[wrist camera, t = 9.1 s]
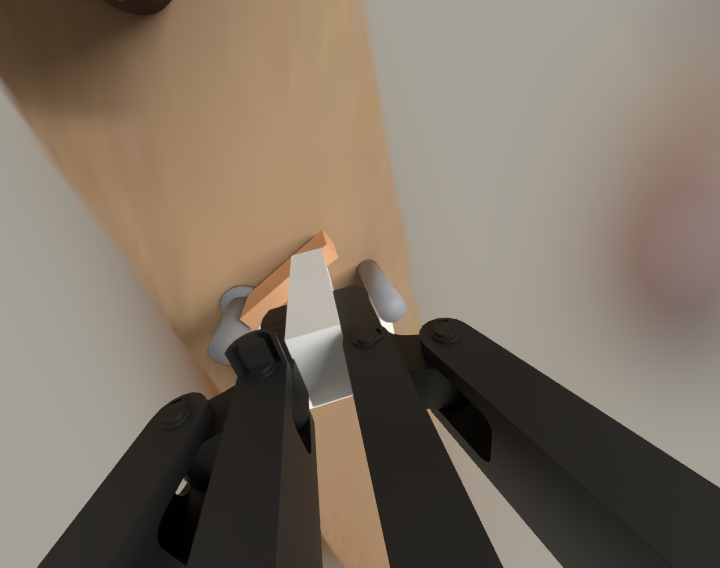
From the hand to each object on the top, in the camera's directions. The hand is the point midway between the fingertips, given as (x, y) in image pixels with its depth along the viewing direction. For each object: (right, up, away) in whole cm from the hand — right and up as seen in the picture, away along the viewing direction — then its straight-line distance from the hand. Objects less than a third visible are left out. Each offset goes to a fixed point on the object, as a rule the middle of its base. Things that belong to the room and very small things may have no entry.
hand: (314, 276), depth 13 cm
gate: (-6, 0, +14) cm, 15 cm away
